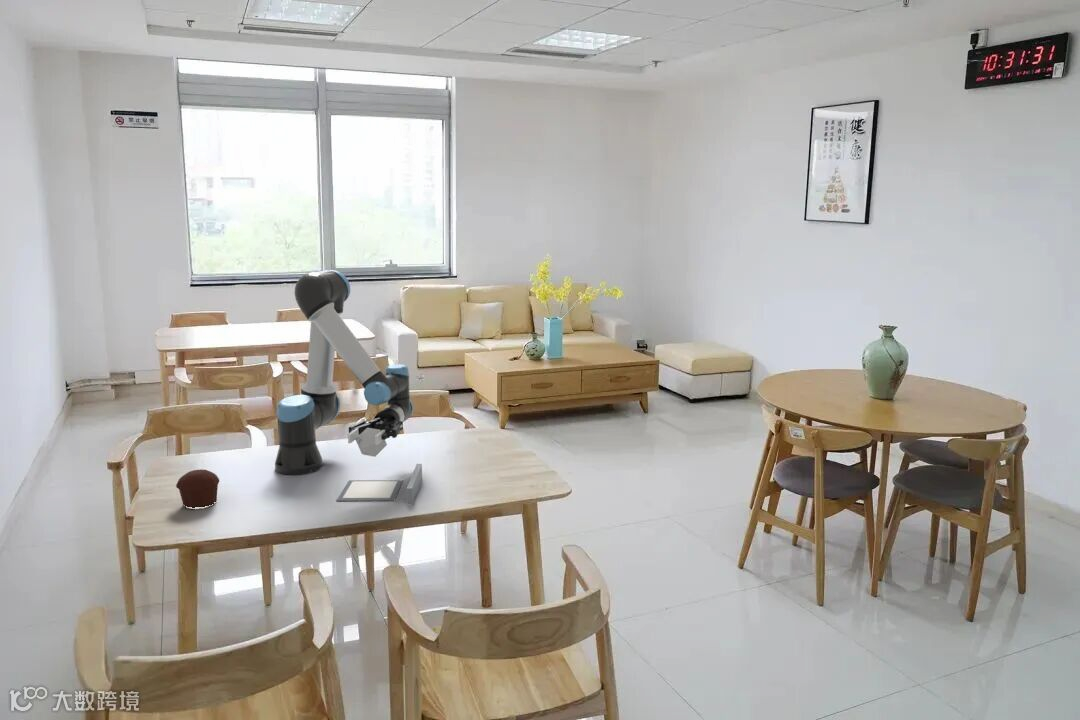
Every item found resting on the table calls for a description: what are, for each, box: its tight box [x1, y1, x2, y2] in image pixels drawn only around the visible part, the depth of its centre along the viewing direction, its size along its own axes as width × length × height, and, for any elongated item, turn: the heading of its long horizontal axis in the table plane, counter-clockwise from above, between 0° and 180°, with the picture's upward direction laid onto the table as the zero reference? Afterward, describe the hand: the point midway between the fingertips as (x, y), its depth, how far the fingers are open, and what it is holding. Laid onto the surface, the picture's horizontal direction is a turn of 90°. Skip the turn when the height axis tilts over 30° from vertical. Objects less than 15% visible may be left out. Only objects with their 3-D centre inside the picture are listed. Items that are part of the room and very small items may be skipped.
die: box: [354, 428, 388, 458], centre depth 240 cm, size 8×9×10 cm
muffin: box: [175, 469, 220, 508], centre depth 232 cm, size 12×11×10 cm
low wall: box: [406, 463, 423, 506], centre depth 243 cm, size 2×22×5 cm, turn 1°
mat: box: [335, 479, 404, 503], centre depth 243 cm, size 17×17×1 cm
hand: (362, 439), depth 235 cm, fingers closed on die, 8 cm apart
